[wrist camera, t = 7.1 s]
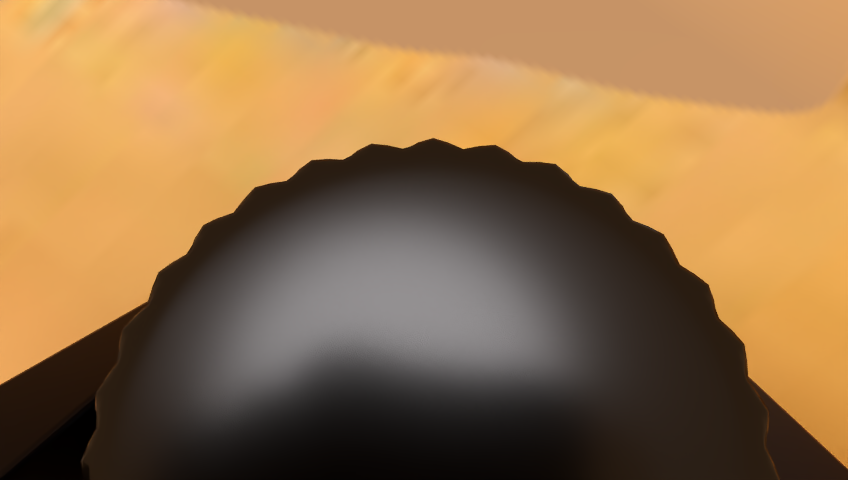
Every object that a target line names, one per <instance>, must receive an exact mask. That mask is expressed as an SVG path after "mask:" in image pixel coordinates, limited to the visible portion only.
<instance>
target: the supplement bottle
mask: <svg viewBox="0 0 848 480" xmlns="http://www.w3.org/2000/svg"><path fill="white" fill-rule="evenodd" d="M95 411H96V415H97V421H96V430H95V431H94V433H93V435H92V437H91V439H90V441H89V443H88V445H87V447H86V450H85V452H84V454H83V457H82V459H81V467H82V473H83V479H84V480H780V477H779V475H778V472H777V469H776V467H775V464H774V462H773V460H772V458H771V456H770V454H769V452H768V450H767V448H766V446H767V433H768V429H769V410H768V408H767V407H766V405H765V403H764V402H763V400H762V398H761V397H760V395H759V394H758V392H757V391H756V390H755V388H754V387H753V386H752V384H751V383H750V381H749V380H748V368H747V358H746V352H745V346H744V343H743V342H742V341H741V340H740V339H739V338H738V337H737V336H736V334H735V333H734V332H733V331H732V330H731V329H730V328H729V327H728V326H727V325H725V324H724V323H723V322H722V321H721V320H720V319H719V317H718V314H717V312H716V309H715V304H714V299H713V296H712V293H711V291H710V288H709V285H708V284H707V283H705V282H704V281H703V280H702V279H700V278H699V277H698V276H696V275H695V274H694V273H692V272H690V271H689V270H687V269H686V268H684V267H682V266H681V265H680V264H679V262H678V260H677V258H676V256H675V254H674V252H673V249H672V248H671V246H670V244H669V243H668V241H667V239H666V238H665V236H664V234H662V233H660V232H658V231H656V230H654V229H652V228H650V227H648V226H646V225H643V224H640V223H638V222H635V221H633V220H632V219H631V218H630V217H629V216H628V214H627V213H626V212H625V210H624V208H623V206H622V205H621V204H620V203H619V201H618V200H617V199H616V198H615V197H614V196H613V195H612V194H611V193H607V192H604V191H600V190H597V189H592V188H587V187H582V186H579V185H578V184H577V183H575V182H574V181H573V180H572V179H571V178H570V176H569V175H568V174H567V173H566V172H565V171H563V170H562V169H561V168H560V167H558V166H557V165H556V164H551V163H542V162H522V161H520V160H518V159H516V158H515V157H514V156H513V155H511V154H510V153H509V152H507V151H506V150H504V149H502V148H500V147H498V146H496V145H488V146H478V147H472V148H467V149H462V148H459V147H457V146H455V145H452V144H450V143H448V142H444V141H441V140H438V139H435V138H432V139H429V140H425V141H422V142H418V143H416V144H415V145H413V146H411V147H408V148H404V149H401V148H397V147H392V146H388V145H379V144H370V145H368V146H366V147H364V148H362V149H360V150H358V151H357V152H355V153H354V154H353V155H352V156H350V157H348V158H346V159H344V160H337V159H323V160H311V161H310V162H309V163H307V164H306V165H305V166H303V167H302V168H301V169H299V170H298V171H297V173H296V174H295V175H294V176H293V177H291V178H290V179H288V180H287V181H284V182H277V183H270V184H266V185H263V186H259V187H255V188H254V189H253V190H252V191H251V192H250V193H249V194H248V196H247V197H246V198H245V199H244V200H243V201H242V203H241V204H240V205H239V206H238V208H237V209H236V210H235V212H234V213H231V214H229V215H226V216H223V217H220V218H217V219H215V220H213V221H211V222H209V223H207V224H205V225H203V226H202V228H201V230H200V231H199V233H198V234H197V236H196V237H195V239H194V242H193V245H192V246H191V248H190V250H189V251H188V253H187V254H186V255H184V256H183V257H181V258H179V259H178V260H176V261H174V262H172V263H171V264H170V265H168V266H167V267H165V268H164V269H163V270H161V271H160V272H158V275H157V277H156V280H155V282H154V285H153V287H152V290H151V293H150V297H149V300H148V303H147V305H146V306H145V307H144V308H143V309H142V310H140V311H139V312H138V313H137V314H136V315H135V316H134V317H133V318H132V319H131V320H130V321H129V322H128V323H127V324H126V325H125V326H124V327H123V328H122V331H121V336H120V341H119V353H118V358H117V363H116V364H115V366H114V367H113V368H112V370H111V371H110V372H109V373H108V375H107V376H106V377H105V379H104V380H103V382H102V383H101V385H100V386H99V388H98V389H97V391H96V397H95Z"/></svg>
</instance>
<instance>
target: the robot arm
mask: <svg viewBox="0 0 848 480" xmlns="http://www.w3.org/2000/svg"><path fill="white" fill-rule="evenodd" d="M147 303H148V301H147V302H146V303H144V304H142V305H140V306H138V307H137V308H135V309H133V310H131V311H130V312H128V313H126V314H124V315H123V316H121V317H119V318H117V319H115V320H114V321H112V322H110V323H108V324H107V325H105V326H103V327H101V328H100V329H98V330H96V331H94V332H93V333H91V334H89V335H87V336H85V337H84V338H82V339H80V340H78V341H77V342H75V343H73V344H71V345H70V346H68V347H66V348H64V349H63V350H61V351H59V352H57V353H55V354H54V355H52V356H50V357H48V358H47V359H45V360H43V361H41V362H40V363H38V364H36V365H34V366H33V367H31V368H29V369H27V370H25V371H24V372H22V373H20V374H18V375H17V376H15V377H13V378H11V379H10V380H8V381H6V382H4V383H2V384H1V385H0V480H84V479H83V473H82V467H81V459H82V457H83V454H84V452H85V450H86V447H87V445H88V443H89V441H90V439H91V437H92V435H93V433H94V431H95V430H96V421H97V415H96V411H95V397H96V391H97V389H98V388H99V386H100V385H101V383H102V382H103V380H104V379H105V377H106V376H107V375H108V373H109V372H110V371H111V370H112V368H113V367H114V366H115V364H116V363H117V358H118V353H119V341H120V336H121V331H122V328H123V327H124V326H125V325H126V324H127V323H128V322H129V321H130V320H131V319H132V318H133V317H134V316H135V315H136V314H137V313H138V312H139V311H140V310H142V309H143V308H144V307H145V306H146V305H147ZM748 380H749V381H750V383H751V384H752V386H753V387H754V388H755V390H756V391H757V392H758V394H759V395H760V397H761V398H762V400H763V402H764V403H765V405H766V407H767V408H768V410H769V429H768V433H767V446H766V448H767V450H768V452H769V454H770V456H771V458H772V460H773V462H774V464H775V467H776V469H777V472H778V475H779V477H780V480H848V469H847V468H846V467H845V466H844V465H843V464H842V463H841V462H840V461H839V460H838V459H836V458H835V457H834V456H833V455H832V454H831V453H830V452H829V451H828V450H827V449H826V448H825V447H824V446H822V445H821V444H820V443H819V442H818V441H817V440H816V439H815V438H814V437H813V436H812V435H811V434H810V433H809V432H807V431H806V430H805V429H804V428H803V427H802V426H801V425H800V424H799V423H798V422H797V421H796V420H795V419H793V418H792V417H791V416H790V415H789V414H788V413H787V412H786V411H785V410H784V409H783V408H782V407H781V406H779V405H778V404H777V403H776V402H775V401H774V400H773V399H772V398H771V397H770V396H769V395H768V394H767V393H766V392H764V391H763V390H762V389H761V388H760V387H759V386H758V385H757V384H756V383H755V382H754V381H753V380H752V379H750V378H749V377H748Z"/></svg>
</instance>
